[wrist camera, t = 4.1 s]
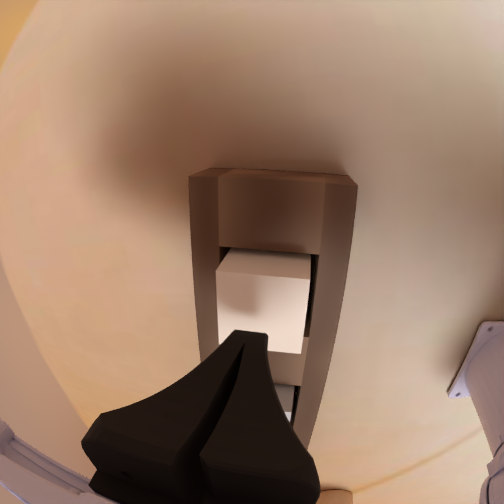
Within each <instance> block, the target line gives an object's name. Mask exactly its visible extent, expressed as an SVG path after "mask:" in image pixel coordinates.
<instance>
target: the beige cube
mask: <svg viewBox="0 0 504 504" xmlns="http://www.w3.org/2000/svg"><path fill="white" fill-rule="evenodd" d="M310 267H311V254H307V253H295V252H283V251H271V250H259V249H247V248H235V247H231V249H230V250H229V252H228V253H227V255H226V256H225V258H224V259H223V261H222V262H221V264H220V265H219V267H218V268H217V270H216V291H217V315H218V335H219V344H221V343H222V342H223V341H224V340H225V339H226V338H227V337H228V336H229V335H230V334H231V332H232V331H234V330H235V329H236V330H244V331H252V332H261V333H266V334H267V335H268V351H276V352H285V353H296V354H301V349H302V342H303V335H304V328H305V320H306V312H307V304H308V295H309V287H310Z"/></svg>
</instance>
